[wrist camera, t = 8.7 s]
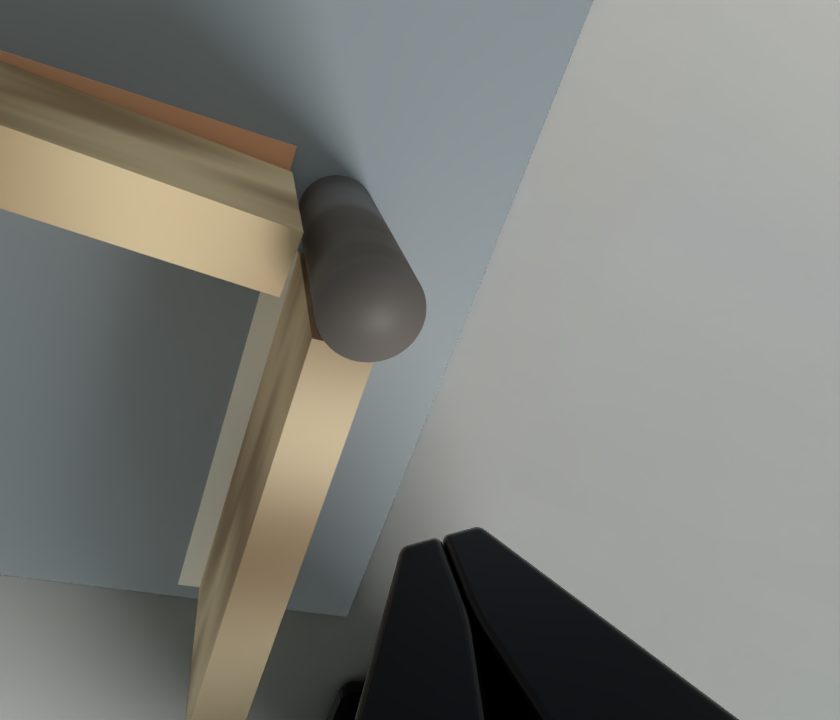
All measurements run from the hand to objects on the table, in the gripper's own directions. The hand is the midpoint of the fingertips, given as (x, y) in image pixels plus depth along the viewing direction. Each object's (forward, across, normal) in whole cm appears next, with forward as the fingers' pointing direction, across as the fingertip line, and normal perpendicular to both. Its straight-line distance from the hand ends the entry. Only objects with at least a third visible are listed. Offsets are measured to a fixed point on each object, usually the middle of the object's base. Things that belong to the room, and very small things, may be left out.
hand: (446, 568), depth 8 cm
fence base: (+12, +3, +4) cm, 12 cm away
